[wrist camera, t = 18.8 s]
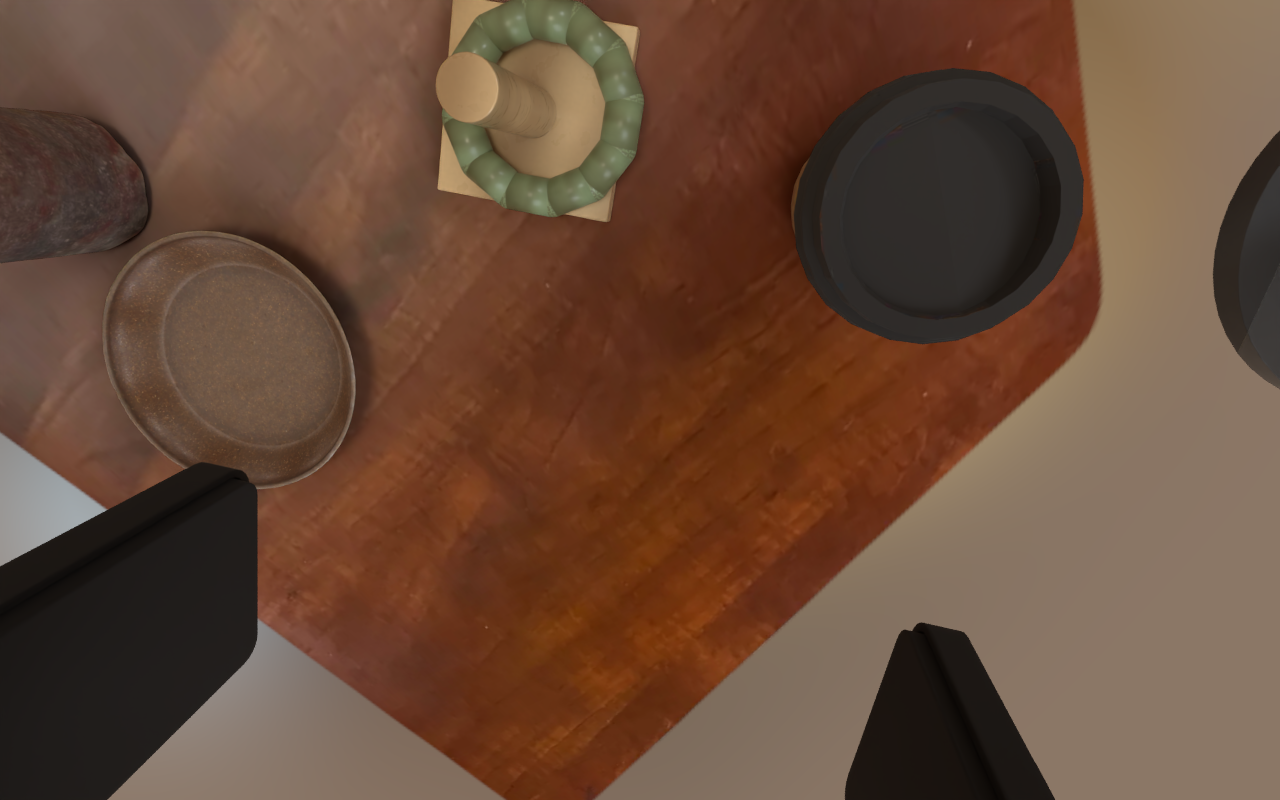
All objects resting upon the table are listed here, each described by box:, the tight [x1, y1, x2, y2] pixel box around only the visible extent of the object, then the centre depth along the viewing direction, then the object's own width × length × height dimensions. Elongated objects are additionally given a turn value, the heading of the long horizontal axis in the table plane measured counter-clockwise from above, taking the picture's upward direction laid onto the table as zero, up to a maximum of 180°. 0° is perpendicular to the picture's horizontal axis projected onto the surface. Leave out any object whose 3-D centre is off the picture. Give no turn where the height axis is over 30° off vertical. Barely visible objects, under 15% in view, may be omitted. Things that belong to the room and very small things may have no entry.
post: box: [436, 0, 640, 222], centre depth 30 cm, size 9×9×10 cm
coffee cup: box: [791, 68, 1084, 344], centre depth 27 cm, size 8×8×15 cm
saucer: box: [102, 231, 356, 489], centre depth 39 cm, size 15×15×3 cm
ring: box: [442, 0, 644, 217], centre depth 33 cm, size 10×10×2 cm
